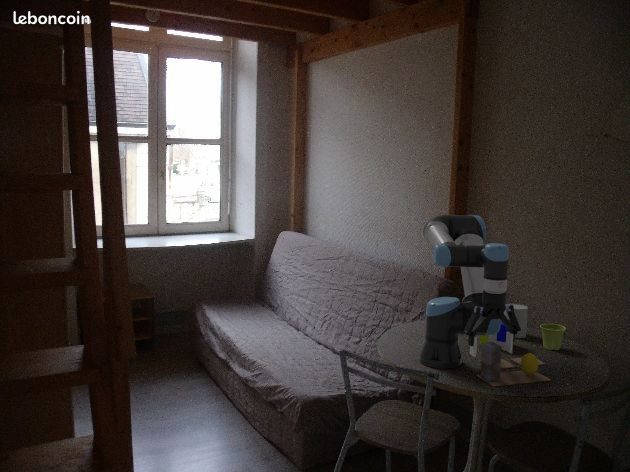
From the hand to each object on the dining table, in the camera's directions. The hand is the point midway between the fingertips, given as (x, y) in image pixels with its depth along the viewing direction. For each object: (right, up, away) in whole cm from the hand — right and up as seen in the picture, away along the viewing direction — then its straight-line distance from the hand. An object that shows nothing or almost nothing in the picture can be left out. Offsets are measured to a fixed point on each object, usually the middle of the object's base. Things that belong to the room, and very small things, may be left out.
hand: (490, 353), depth 193 cm
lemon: (+14, -9, +5) cm, 17 cm away
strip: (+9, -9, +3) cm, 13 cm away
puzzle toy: (+14, -5, +40) cm, 43 cm away
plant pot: (+35, -6, +37) cm, 51 cm away
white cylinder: (+27, -3, +55) cm, 61 cm away
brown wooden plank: (+14, -7, +18) cm, 24 cm away
